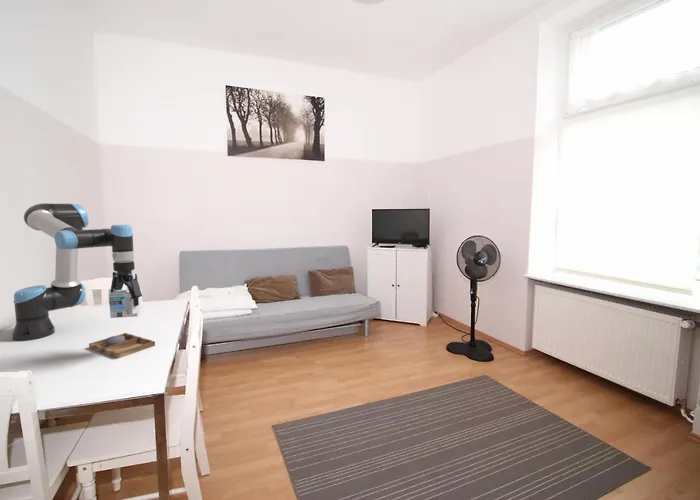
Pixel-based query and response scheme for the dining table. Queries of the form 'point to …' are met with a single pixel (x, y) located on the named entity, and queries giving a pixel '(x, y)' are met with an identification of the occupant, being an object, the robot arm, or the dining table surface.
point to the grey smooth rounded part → (114, 340)
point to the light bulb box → (122, 304)
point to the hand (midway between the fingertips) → (127, 311)
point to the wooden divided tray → (123, 346)
